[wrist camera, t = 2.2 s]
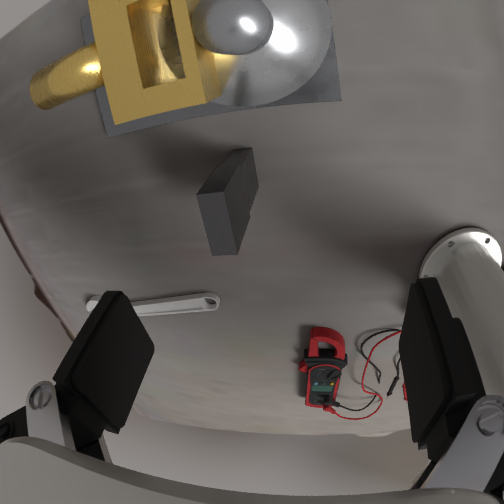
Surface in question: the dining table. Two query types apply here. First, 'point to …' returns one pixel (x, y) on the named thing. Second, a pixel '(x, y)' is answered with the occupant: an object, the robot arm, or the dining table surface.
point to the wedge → (228, 201)
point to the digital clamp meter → (333, 369)
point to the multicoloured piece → (194, 59)
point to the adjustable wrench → (169, 304)
